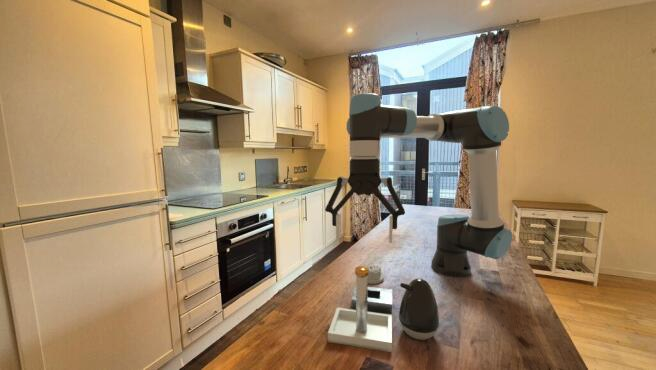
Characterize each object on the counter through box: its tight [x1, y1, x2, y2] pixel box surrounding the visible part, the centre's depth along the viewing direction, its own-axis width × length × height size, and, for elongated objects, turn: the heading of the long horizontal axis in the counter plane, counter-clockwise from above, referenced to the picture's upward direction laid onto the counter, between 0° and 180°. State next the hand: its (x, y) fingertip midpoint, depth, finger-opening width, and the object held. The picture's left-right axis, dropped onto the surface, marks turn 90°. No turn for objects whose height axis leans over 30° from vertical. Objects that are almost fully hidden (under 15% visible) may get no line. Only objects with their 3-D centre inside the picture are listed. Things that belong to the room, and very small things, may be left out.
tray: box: [327, 306, 393, 353], centre depth 74 cm, size 16×12×2 cm
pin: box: [354, 265, 369, 333], centre depth 73 cm, size 4×4×17 cm
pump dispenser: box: [398, 278, 440, 341], centre depth 73 cm, size 10×10×15 cm
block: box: [350, 285, 393, 316], centre depth 85 cm, size 12×9×4 cm
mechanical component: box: [363, 263, 385, 285], centre depth 106 cm, size 10×4×10 cm
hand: (364, 239), depth 71 cm, fingers open, 13 cm apart
